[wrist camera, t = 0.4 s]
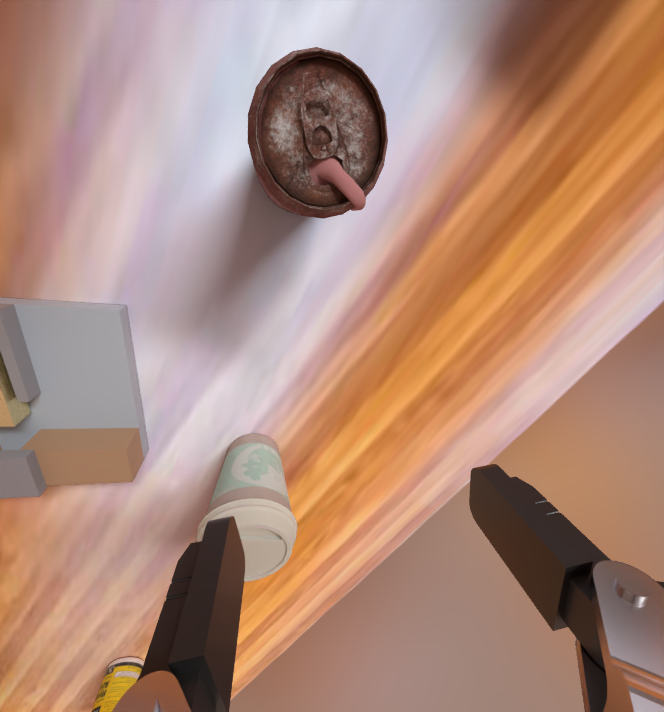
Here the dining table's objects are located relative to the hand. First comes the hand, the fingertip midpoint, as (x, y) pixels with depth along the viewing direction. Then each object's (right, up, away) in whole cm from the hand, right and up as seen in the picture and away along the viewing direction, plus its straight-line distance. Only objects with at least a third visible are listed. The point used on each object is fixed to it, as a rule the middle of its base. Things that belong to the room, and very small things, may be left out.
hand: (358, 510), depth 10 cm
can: (-4, +20, +15) cm, 25 cm away
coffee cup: (-10, -6, +26) cm, 29 cm away
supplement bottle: (-34, -44, +40) cm, 69 cm away
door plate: (-29, +3, +18) cm, 35 cm away
